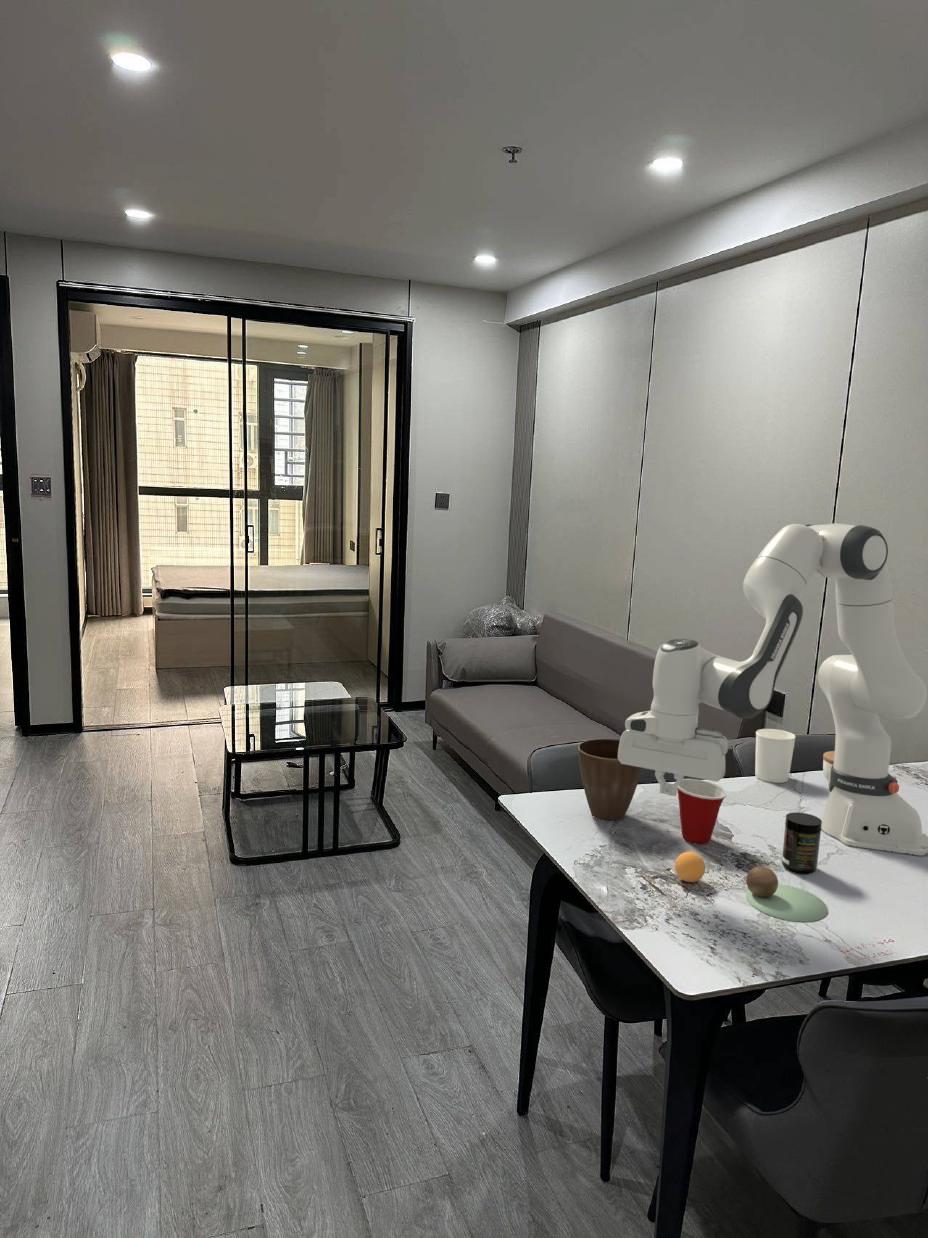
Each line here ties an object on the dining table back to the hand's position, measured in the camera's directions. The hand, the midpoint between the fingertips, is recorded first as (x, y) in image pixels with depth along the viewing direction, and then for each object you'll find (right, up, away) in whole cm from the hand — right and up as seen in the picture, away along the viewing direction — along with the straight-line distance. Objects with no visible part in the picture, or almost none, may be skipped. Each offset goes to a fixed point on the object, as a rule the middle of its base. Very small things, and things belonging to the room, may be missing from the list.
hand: (668, 793), depth 165 cm
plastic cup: (+11, -14, +19) cm, 26 cm away
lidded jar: (+59, -10, +56) cm, 82 cm away
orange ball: (+4, -14, -1) cm, 14 cm away
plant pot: (-7, -12, +31) cm, 33 cm away
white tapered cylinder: (+42, -8, +61) cm, 74 cm away
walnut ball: (+16, -15, -6) cm, 23 cm away
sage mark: (+20, -18, -8) cm, 28 cm away
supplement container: (+28, -17, +7) cm, 33 cm away
